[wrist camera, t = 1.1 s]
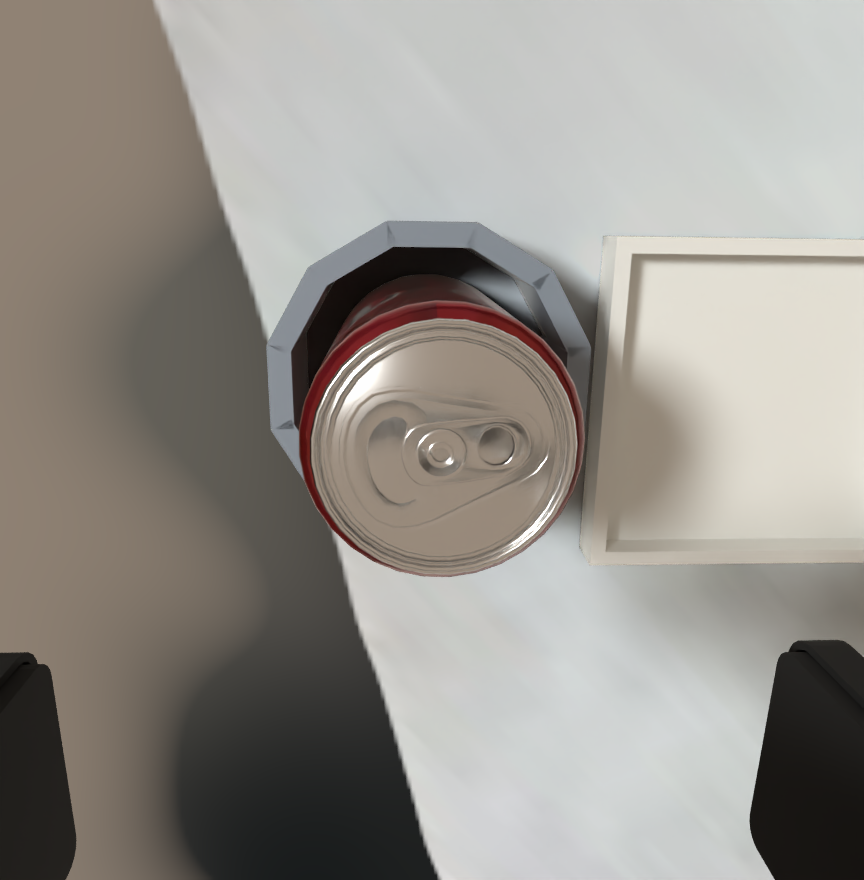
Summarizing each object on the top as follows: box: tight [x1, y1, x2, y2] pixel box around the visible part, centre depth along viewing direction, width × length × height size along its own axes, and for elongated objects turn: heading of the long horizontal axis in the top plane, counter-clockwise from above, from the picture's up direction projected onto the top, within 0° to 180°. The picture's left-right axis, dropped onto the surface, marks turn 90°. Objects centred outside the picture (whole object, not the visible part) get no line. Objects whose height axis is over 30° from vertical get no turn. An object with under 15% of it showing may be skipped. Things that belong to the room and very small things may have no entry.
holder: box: [267, 221, 591, 479], centre depth 27 cm, size 11×11×4 cm
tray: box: [579, 236, 864, 565], centre depth 29 cm, size 13×13×2 cm
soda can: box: [299, 274, 585, 577], centre depth 23 cm, size 7×7×12 cm
